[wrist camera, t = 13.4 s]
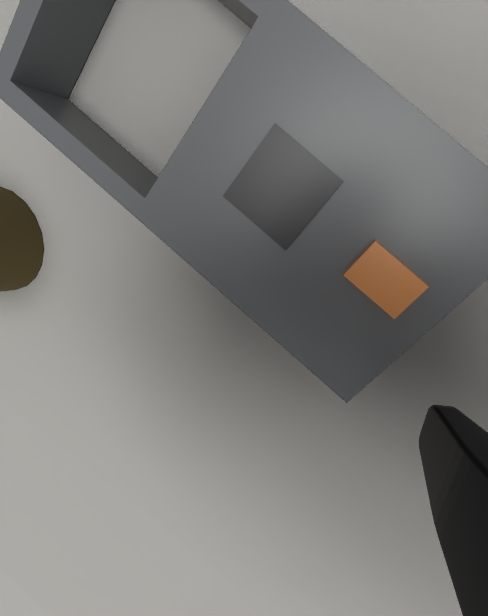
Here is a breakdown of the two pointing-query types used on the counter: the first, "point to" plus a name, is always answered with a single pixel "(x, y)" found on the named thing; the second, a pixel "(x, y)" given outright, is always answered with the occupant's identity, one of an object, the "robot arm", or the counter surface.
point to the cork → (18, 242)
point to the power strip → (283, 184)
